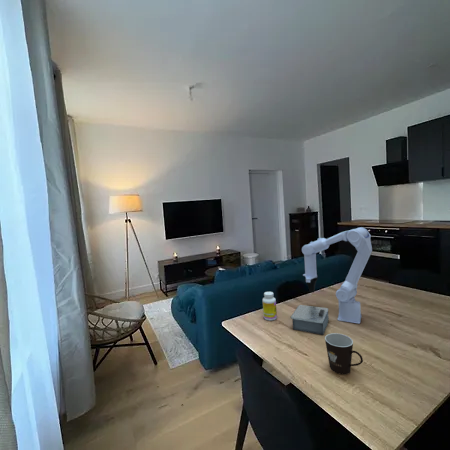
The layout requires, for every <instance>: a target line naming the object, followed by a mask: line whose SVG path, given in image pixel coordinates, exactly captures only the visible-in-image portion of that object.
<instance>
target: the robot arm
mask: <svg viewBox="0 0 450 450" xmlns="http://www.w3.org/2000/svg"><path fill="white" fill-rule="evenodd" d="M371 237H372V235H371V234H370V232H369V231H368V229H366V228H365V227H362V226H361V227H360V226H359V227H357V228H352V229H350V230H345V231H341V232H339V233H337V234H334V235H333V236H330V237H327V238H325V237H319V238H317V240H314V241H310V242H309V243H308V244H304V245H303V246H302V247H301V252H302V254H303V256H304V257H303V258H304V273H303V274H302V276H303V277H305V279H304V281H305V283H306V285H307V288H308V292H309V293H315V291H316V290H315V289H316V285H317V281H318V274H317V273H318V272H317V270H318V269H317V255H316V254H317V253H320V252H322V251H325V250H327V249H329V247H330V245H333V244H335V243H338V242H340V241H344V242H348V243H350V244H351V245H352V246H353V247H355V250H356V251H357V252H356V255H355V257H354V259H353V262H352V264H351V266H350V269H349V271H348V274H347V275H346V277H345V280H344V281H343V282H342V284H341V286H340V287H339V288H338V289H337V290H336V292H335V297H336V298H337V299H336V300H337V301H338V317H337V321H340V322H346V323H347V322H348V323H354V324H361V321H362V320H361V319H362V313H361V311H362V310H361V309H362V308H361V301H358V300H356V298H355V296H357V294H358V291H357V289H358V283H359V280H360V278H361V276H362V274H363V271H365V270H364V269H365V267H366V265H367V263H368V261H369V259H370V257H371V255H372V252H373V247H372V242H371V241H372V240H371Z"/></svg>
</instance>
